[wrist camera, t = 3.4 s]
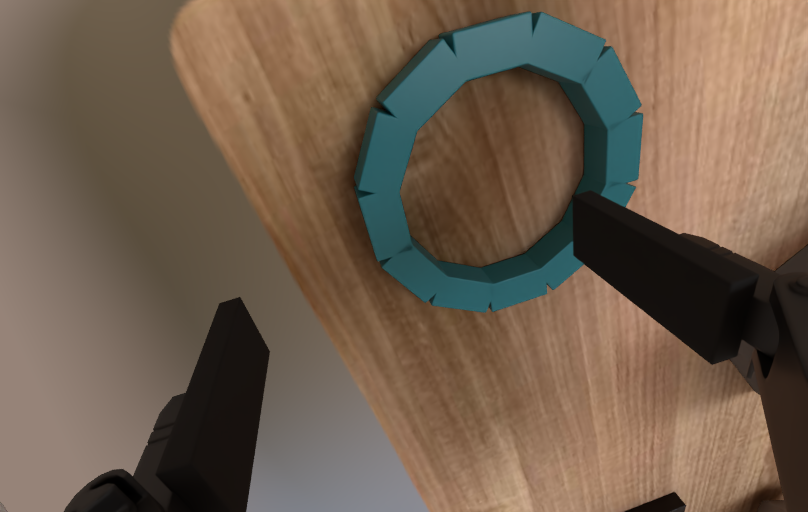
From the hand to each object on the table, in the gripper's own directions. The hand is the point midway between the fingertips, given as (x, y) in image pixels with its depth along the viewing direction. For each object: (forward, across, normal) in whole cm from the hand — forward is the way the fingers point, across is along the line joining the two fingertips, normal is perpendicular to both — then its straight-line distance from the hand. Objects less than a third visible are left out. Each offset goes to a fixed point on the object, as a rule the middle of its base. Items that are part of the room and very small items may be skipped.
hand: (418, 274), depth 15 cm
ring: (+7, +6, 0) cm, 9 cm away
